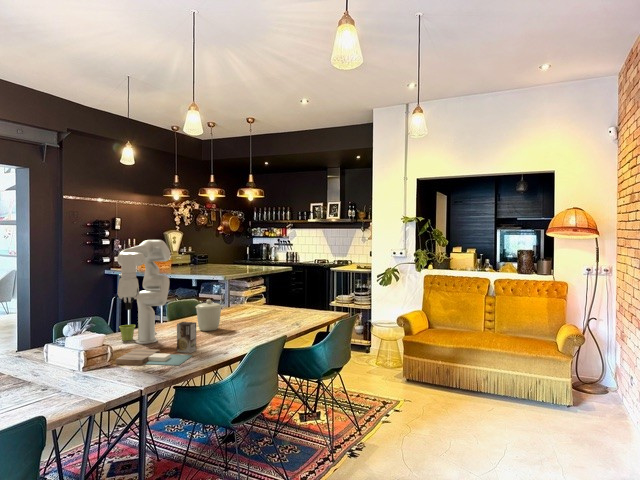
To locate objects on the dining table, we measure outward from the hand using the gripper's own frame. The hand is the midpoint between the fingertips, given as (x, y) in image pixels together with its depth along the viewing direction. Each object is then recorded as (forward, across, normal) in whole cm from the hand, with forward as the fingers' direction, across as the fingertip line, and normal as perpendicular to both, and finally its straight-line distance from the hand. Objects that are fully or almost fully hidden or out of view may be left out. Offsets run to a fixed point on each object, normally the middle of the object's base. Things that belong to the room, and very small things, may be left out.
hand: (128, 309), depth 239 cm
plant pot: (+25, -19, +33) cm, 46 cm away
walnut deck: (+25, +9, -6) cm, 27 cm away
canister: (+25, +21, +68) cm, 76 cm away
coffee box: (+25, +28, +12) cm, 40 cm away
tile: (+25, +21, -6) cm, 33 cm away
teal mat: (+25, +26, -6) cm, 37 cm away
